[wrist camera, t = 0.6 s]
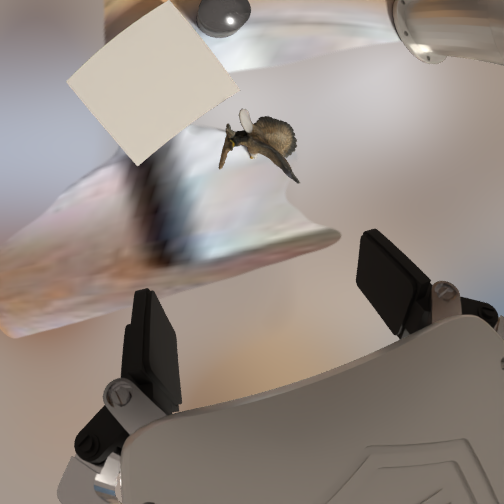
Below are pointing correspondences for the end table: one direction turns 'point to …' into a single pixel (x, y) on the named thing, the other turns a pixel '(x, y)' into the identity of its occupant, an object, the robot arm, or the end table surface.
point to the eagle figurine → (263, 140)
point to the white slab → (152, 82)
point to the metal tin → (222, 16)
